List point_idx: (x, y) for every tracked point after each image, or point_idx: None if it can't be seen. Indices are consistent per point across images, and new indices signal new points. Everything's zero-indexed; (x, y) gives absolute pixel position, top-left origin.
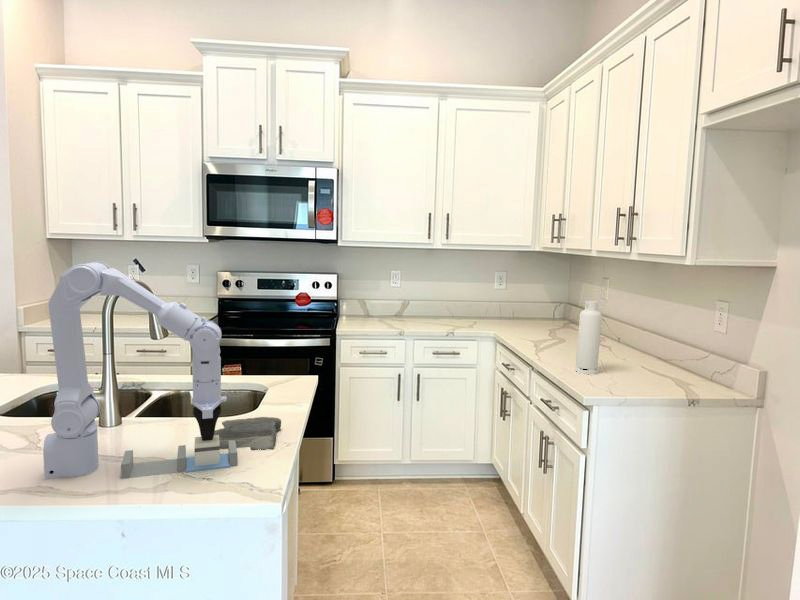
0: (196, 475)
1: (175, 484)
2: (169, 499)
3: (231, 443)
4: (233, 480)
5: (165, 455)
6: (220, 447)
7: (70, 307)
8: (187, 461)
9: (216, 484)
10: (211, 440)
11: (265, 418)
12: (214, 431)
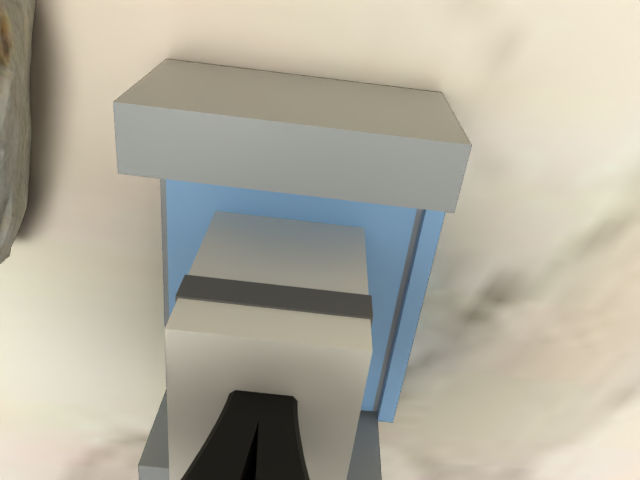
0: None
1: (471, 439)
2: (629, 472)
3: (202, 156)
4: (624, 156)
5: (53, 445)
6: (19, 169)
7: None
8: None
9: (611, 266)
10: (308, 406)
11: None
12: (298, 462)
